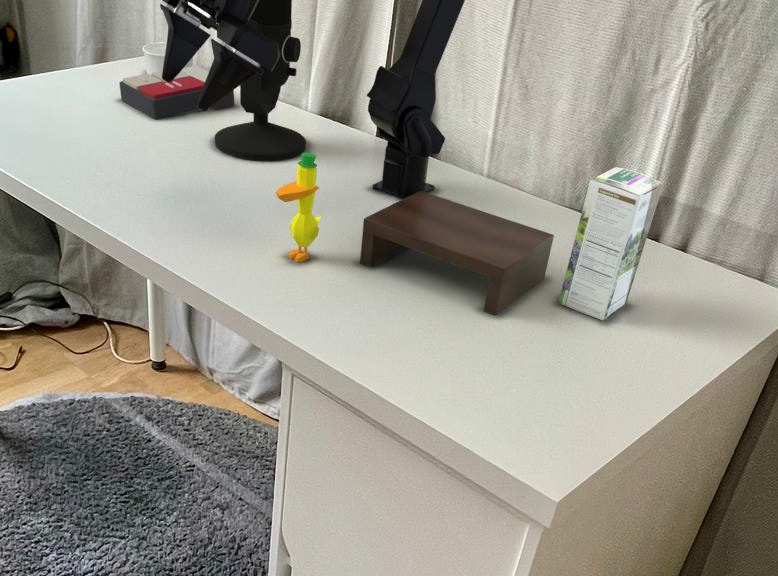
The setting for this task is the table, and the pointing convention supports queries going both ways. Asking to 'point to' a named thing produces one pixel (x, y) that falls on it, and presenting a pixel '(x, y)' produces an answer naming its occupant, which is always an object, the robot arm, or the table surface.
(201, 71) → the grey and red case
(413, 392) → the table surface
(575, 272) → the syrup box
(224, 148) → the microphone
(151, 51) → the ramekin
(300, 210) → the toy figure
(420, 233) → the shelf
